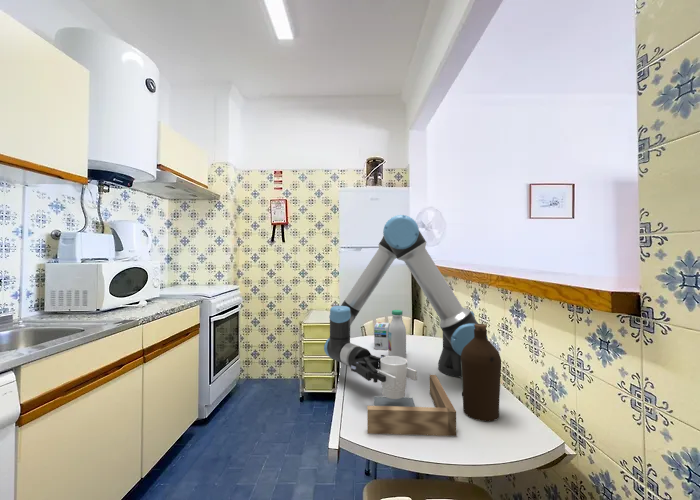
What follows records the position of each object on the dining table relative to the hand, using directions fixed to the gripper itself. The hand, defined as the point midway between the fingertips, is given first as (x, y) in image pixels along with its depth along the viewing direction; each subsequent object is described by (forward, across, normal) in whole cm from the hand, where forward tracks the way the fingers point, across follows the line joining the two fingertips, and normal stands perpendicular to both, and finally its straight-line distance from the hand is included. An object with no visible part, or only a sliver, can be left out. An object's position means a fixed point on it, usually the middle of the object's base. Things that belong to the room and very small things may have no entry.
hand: (405, 379), depth 90 cm
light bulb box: (-52, -39, -10) cm, 66 cm away
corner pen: (-1, -1, -10) cm, 10 cm away
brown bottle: (+12, -17, -10) cm, 23 cm away
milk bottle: (-37, -34, -10) cm, 52 cm away
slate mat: (-5, 0, -10) cm, 11 cm away
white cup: (-5, 0, -6) cm, 8 cm away
